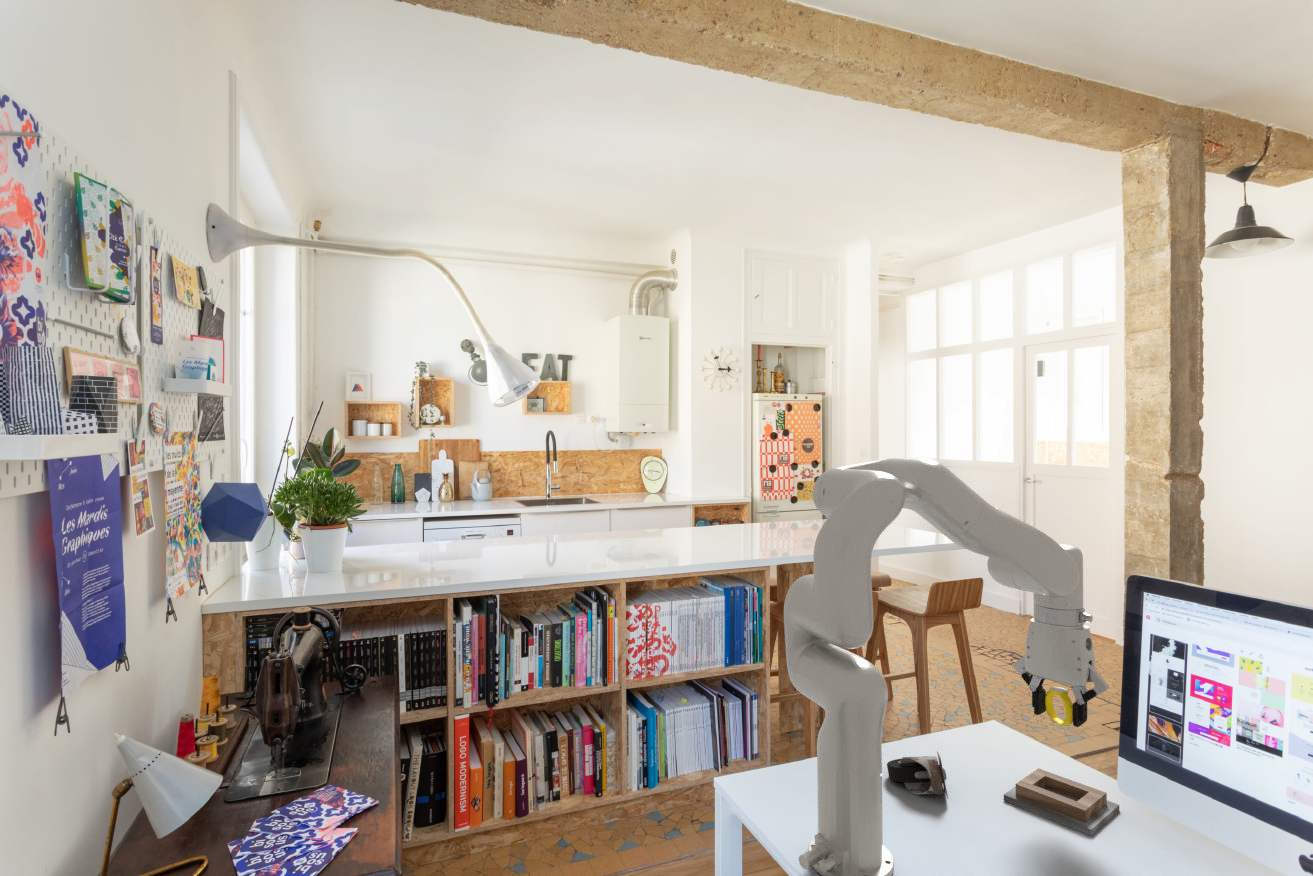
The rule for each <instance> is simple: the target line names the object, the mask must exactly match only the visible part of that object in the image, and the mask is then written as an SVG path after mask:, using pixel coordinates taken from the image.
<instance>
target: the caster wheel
mask: <svg viewBox="0 0 1313 876" xmlns="http://www.w3.org/2000/svg"><path fill="white" fill-rule="evenodd" d="M936 753H937V756H936V755H928V756H924V755H923V756H921V755H920V756H904V757H902V758H897V759H893V760H892V759H891V760H890V761H887V764H886V768H887V774H888V778H889V779H890V780H891V781H894V782H897V783H903V784H904V785H905V786H904V787H905V788H906V790H907V791H909V792H910V794H913V795H943V794H944V793H945V795H946V799H947V800H948V799H949V796H948V791H947V790H948V789H947V785H946V780H947V778H948V777H947V772H946V769H945V768H944V767H943V763H942V758H941V756H940V753H939V752H938V750H937V752H936Z"/></svg>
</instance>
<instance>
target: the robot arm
mask: <svg viewBox="0 0 1313 876" xmlns="http://www.w3.org/2000/svg"><path fill="white" fill-rule="evenodd" d="M812 500H813V504H814V506H815V507H816V509H817V511H819V513H820V514H822V515H823V516H824V517H826V520H825V521H824V523H823V524H822V526H821V528H820V529H819V531H818V534H817V536H816V538H815V542H814V547H813V573H812V574H806V575H802V576H800V577H798V578H797V579H796V580H795V581H793V583H792V584H791V585H790V587H789V588H788V590H787V593H786V594H785V599H784V603H783V604H784V605H783V625H784V642H785V643H784V644H785V655H786V656H785V658H786V659H785V660H786V666H787V671H788V673H787V674H788V676H789V679H790V682H791V684H792V685H793V686H794V688H795V689H796V690H797V691H798V692H799V693H800V694H802V695H803V696H804V697H805V698H807V699H809V700H810V701H812V702H814V703H815V704H816V705H817V706H819V707H820V708H822V709H823V710H824V718H823V722H822V724H821V726H820V729H819V732H818V734H817V739H816V741H817V742H816V759H817V760H816V761H817V763H816V764H817V766H816V767H817V770H816V771H817V775H816V776H817V779H816V780H817V833H816V834H814V838H813V839H812V840H811V841H810V842H809V844H808V847H807V851H805V852H804V853H802V854H800V855H799V856H798V862H799V865H800V867H801V868H802V869H803V870H806V871H807V870H809V869H810V868H813V869H814V870H815V872H817V873H819V874H820V875H821V876H893V873H894V872H895V871H894V870H895V869H894V868H895V867H894V865H895V864H894V863H895V862H894V857H893V855H892V853H891V852H890V851H889V849H888V848H887V847H886V846H885V845H884V843H883V842H884V841H883V836H884V835H883V768H882V767H883V766H882V765H883V763H882V762H883V761H882V750H883V749H882V747H883V746H882V743H883V742H882V741H883V729H884V721H885V715H886V710H887V705H888V700H889V691H888V690H889V689H888V685H887V681H886V679H885V677H884V675H883V674H882V672H881V671H880V670H879V669H878V668H877V667H876V665H874V664H873V663H871V662H870V661H869V660H867V659H865V658H864V657H862V656H860V655H857V654H855V653H853V652H851V651H849V650H847V649H850V650H851V649H852V650H854V649H858V648H861V647H863V646H865V645H866V644H867V643H868V642H869V640H870V639H871V637H872V635H873V631H874V604H873V603H874V602H873V601H874V600H873V585H872V553H873V551H874V547H875V545H876V543H877V541H878V539H879V538H880V536H881V535H882V533H883V532H884V531H885V530H886V529H887V528H888V527H889V526H890V525H891V524H892V523H893V522H894V521H895V520H896V519H897V517H899V515H900V514H901V511H902V510H903V509H907V510H911V511H913V512H915V513H916V514H918V515H919V516H920V517H921V518H922V519H924V520H925V521H926V522H928V523H930V524H931V526H933V527H934V528H935V529H936V530H937V531H939V532H940V533H941V534H943V535H944V536H945V537H946V538H947V539H948V540H949V541H951V542H952V543H954V544H955V545H957V546H959V547H961V548H964V549H965V550H968V551H970V552H973V553H975V554H977V555H981V556H984V557H988V559H987V564H986V565H987V571H988V573H989V575H990V577H991V578H992V579H993V580H994V581H995V582H996V583H998V584H1000V585H1002V586H1004V587H1007V588H1011V589H1015V590H1016V589H1017V590H1019V591H1022V592H1029V593H1033V617H1032V618H1031V619H1030V621H1029V624H1028V629H1027V633H1026V639H1025V652H1024V654H1023V655H1022V656H1021V657H1020V658H1019V659H1017V661H1015V662H1014V663H1013V664H1012V668H1013V669H1014V670H1016V672H1017V673H1018V674H1019V675H1020V676H1021V678H1022V680H1023V681H1024V682H1025V684H1026V685H1027V686H1028V689H1029V690H1030V691H1031V706H1032V708H1033V713H1034V715H1036V716H1039V715H1041V714H1043V713H1046V712H1047V711H1046V707H1045V696H1046V694H1047V691H1046V689H1045V688H1044V687H1043V685H1044V683H1045V681H1046V680H1048V681H1052V682H1055V683H1060V684H1063V685H1067V686H1070V687H1071V690H1072V693H1073V696H1074V698H1075V702H1072V705H1073V722H1072V725H1073V726H1074V727H1076V728H1079V727H1081V726H1082V725H1084V724H1085V723H1087V721H1088V702H1089V701H1091V700H1093V699H1094V698H1096V697H1097V696H1098V695H1100V694H1102V693H1104V692H1106V691H1108V690H1109V689H1110V687H1109V684H1108V683H1107V682H1106V681H1105V680H1104V679H1103V676H1101V675H1100V673H1098V671H1097V669H1096V658H1095V648H1094V643H1093V637H1092V633H1091V630H1090V626H1088V625H1086V624H1085V623H1089V624H1091V623H1092V622H1093V615H1092V614H1089V613H1088V612H1086V611H1085V610H1086V609H1085V607H1084V557H1083V556H1084V555H1083V553H1082V550H1081V549H1080V548H1078V547H1077V546H1074V545H1071V544H1065V543H1064V544H1063V543H1059V542H1057V541H1056V540H1054V539H1053V538H1052V537H1050V536H1049V535H1048V534H1046V533H1045V532H1044V531H1041V530H1039V529H1038V528H1036V527H1034V526H1032V525H1030V524H1028V523H1026V522H1024V521H1023V520H1020V519H1018V518H1016V517H1015V516H1013V515H1011V514H1009V513H1008V512H1005V511H1003V510H1001V509H1000V508H997V507H995V506H993V505H991V504H990V503H989V502H987V500H985V499H984V498H983V497H981V496H980V495H979V494H978V493H976V491H974V490H973V489H972V488H971V487H970V486H968V485H967V484H966V483H965V482H964V481H963V480H961V479H960V478H959V476H957V475H956V474H955V473H953V472H952V471H951V470H950V469H949V468H947V467H946V466H945V465H944V464H942V463H940V462H938V461H936V460H933V459H929V458H919V457H917V458H913V457H892V458H891V457H889V458H884V459H878V460H873V461H867V462H862V463H856V464H849V465H845V466H838V467H834V468H831V469H830V468H829V469H827V470H825V471H824V472H823V473H822V474H820V475H819V476H818V477H817V478H816V480H815V482H814V484H813V487H812ZM1087 683H1093V684H1094V687H1092V688H1090V689H1089V690H1088V688H1087Z"/></svg>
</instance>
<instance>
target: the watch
mask: <svg viewBox="0 0 1313 876" xmlns="http://www.w3.org/2000/svg"><path fill="white" fill-rule="evenodd" d="M1054 696H1059V697H1060V699H1061V701H1062V703H1063V705H1064V708H1065V709H1064V712H1065V717H1064V720H1062V719H1061V718H1059V716H1058V715H1057V713H1056V711H1055V707H1054V706H1055V705H1054ZM1071 699H1072V698H1070V697H1069V691H1068V689H1067V688H1065V687H1061V686H1051V687H1049V690H1047V691H1046V696H1045V707H1046V711H1045V712H1046V713H1047V715H1048V717H1049V720H1050V721H1053V722H1054V723H1056V724H1057V725H1059V726H1060V727H1069V726H1070V725H1073V702H1072V700H1071Z"/></svg>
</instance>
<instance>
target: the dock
mask: <svg viewBox="0 0 1313 876" xmlns="http://www.w3.org/2000/svg"><path fill="white" fill-rule="evenodd" d="M1107 794H1108V793H1107V792H1106V791H1103V790H1100V789H1097V788H1095V787H1091V786H1089V785H1086V784H1083V783H1080V782H1077V781H1075V780H1072V779H1069V778H1067V777H1064V776H1061V775H1058V774H1055V773H1052V772H1050V771H1047V770H1044V769H1041V768H1037V769H1036V770H1034V771H1033V772H1031V773H1030V774H1028V775H1027V776H1025V777H1024V778H1022V779H1021V780H1019V781H1018V782H1016V783H1015V787H1013V788H1011V789H1009V790H1008V791H1007V792H1004V794H1003V801H1004V802H1007V803H1009V804H1011V805H1014V806H1017V807H1020V808H1022V809H1024V810H1027V811H1030V812H1031V813H1034V814H1036V815H1039V816H1041V817H1043V818H1046V819H1049V820H1051V821H1052V822H1053V821H1054V822H1056V823H1059V824H1061V825H1063V826H1066V827H1068V828H1071V829H1073V830H1075V831H1078V832H1081V833H1083V834H1086V835H1088V836H1089V837H1091V836H1093V835H1094V834H1096V832H1097V831H1098V830H1099V829H1101V828H1102V827H1103V826H1104V825H1105V824H1107V823H1108V821H1109V820H1111V819H1112V818H1113V817H1114V816H1115V815H1116V814H1117V813H1118V812H1120V804H1117V803H1115V802H1113V801H1110V800H1107V799H1108V796H1107Z"/></svg>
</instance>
